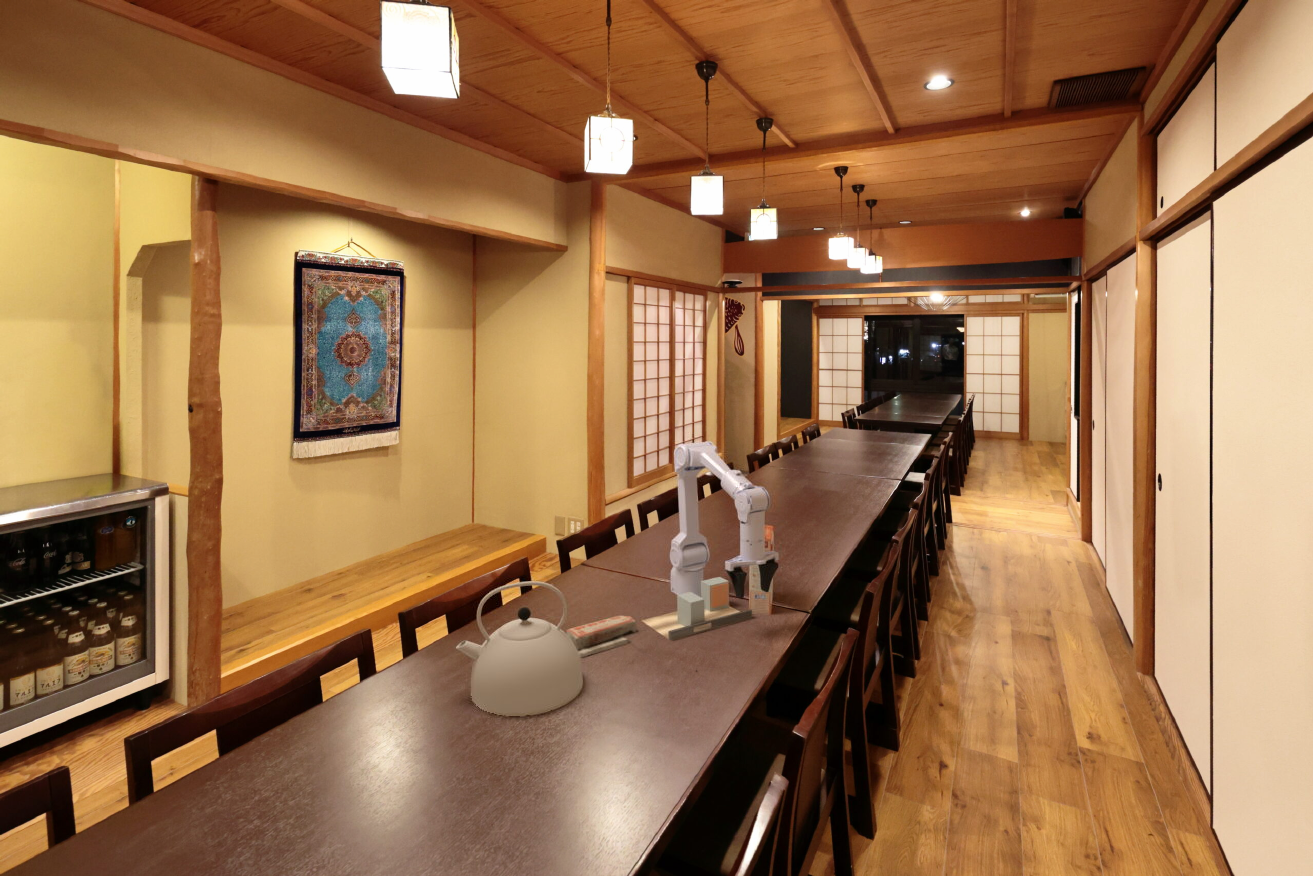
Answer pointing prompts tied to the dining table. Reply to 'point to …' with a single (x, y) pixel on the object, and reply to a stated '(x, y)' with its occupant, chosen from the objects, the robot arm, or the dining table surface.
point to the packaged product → (601, 635)
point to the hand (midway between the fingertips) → (752, 594)
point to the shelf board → (713, 619)
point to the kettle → (524, 663)
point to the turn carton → (690, 609)
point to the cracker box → (757, 598)
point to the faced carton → (715, 593)
